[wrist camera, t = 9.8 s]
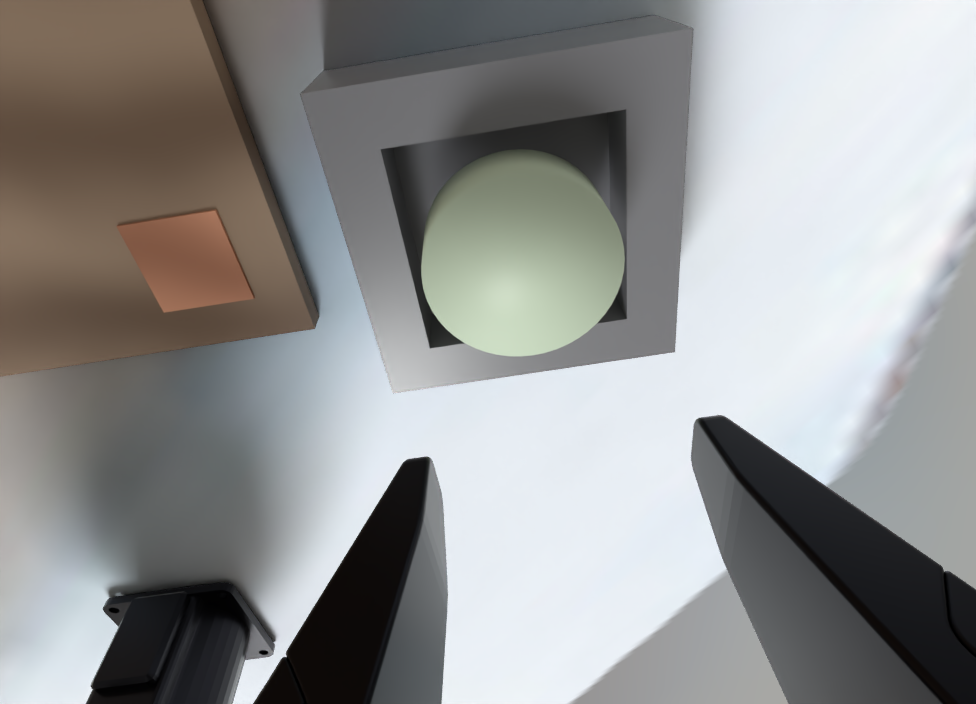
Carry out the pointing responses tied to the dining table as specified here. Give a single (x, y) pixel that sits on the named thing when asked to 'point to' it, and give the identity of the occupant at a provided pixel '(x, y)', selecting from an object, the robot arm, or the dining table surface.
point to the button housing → (498, 127)
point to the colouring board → (131, 190)
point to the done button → (520, 254)
